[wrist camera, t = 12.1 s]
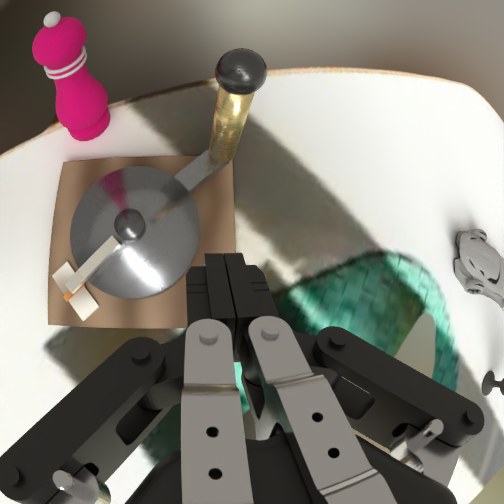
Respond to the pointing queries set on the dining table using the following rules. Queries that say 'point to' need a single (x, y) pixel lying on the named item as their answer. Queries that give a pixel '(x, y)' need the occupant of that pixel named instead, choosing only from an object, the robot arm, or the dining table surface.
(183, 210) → the turntable
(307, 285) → the dining table surface
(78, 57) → the pepper mill
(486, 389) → the sundae
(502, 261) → the car model
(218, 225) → the stand
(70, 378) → the dining table surface
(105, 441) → the robot arm
